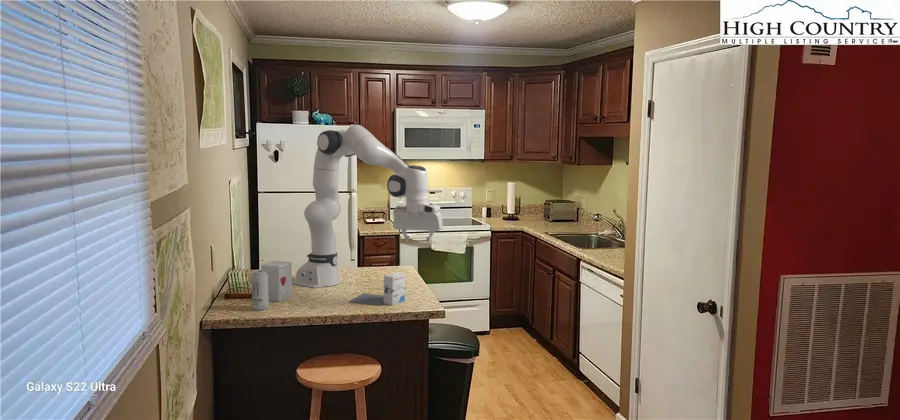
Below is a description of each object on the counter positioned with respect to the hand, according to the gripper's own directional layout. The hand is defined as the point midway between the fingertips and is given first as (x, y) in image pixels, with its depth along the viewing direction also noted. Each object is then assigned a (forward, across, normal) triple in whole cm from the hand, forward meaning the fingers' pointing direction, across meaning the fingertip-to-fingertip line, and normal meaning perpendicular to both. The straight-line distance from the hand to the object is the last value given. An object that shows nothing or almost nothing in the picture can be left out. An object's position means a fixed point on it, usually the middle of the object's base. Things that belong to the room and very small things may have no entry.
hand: (417, 241), depth 229 cm
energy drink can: (+25, -55, -27) cm, 67 cm away
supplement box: (+25, -58, -12) cm, 65 cm away
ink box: (+26, -10, -1) cm, 28 cm away
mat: (+26, -21, 0) cm, 33 cm away
